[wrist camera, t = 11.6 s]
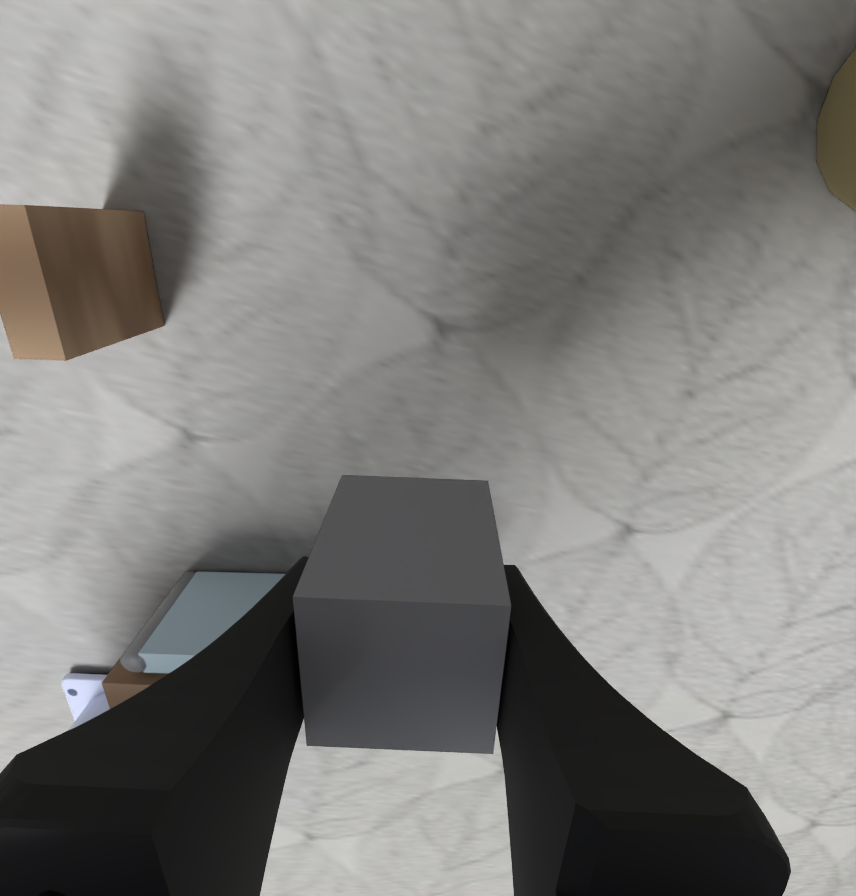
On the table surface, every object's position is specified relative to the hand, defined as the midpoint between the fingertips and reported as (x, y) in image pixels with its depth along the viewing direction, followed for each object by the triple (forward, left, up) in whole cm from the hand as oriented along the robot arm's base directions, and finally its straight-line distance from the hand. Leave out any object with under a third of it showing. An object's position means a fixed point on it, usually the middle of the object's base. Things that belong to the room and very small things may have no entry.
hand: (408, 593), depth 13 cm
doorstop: (0, 0, -2) cm, 2 cm away
